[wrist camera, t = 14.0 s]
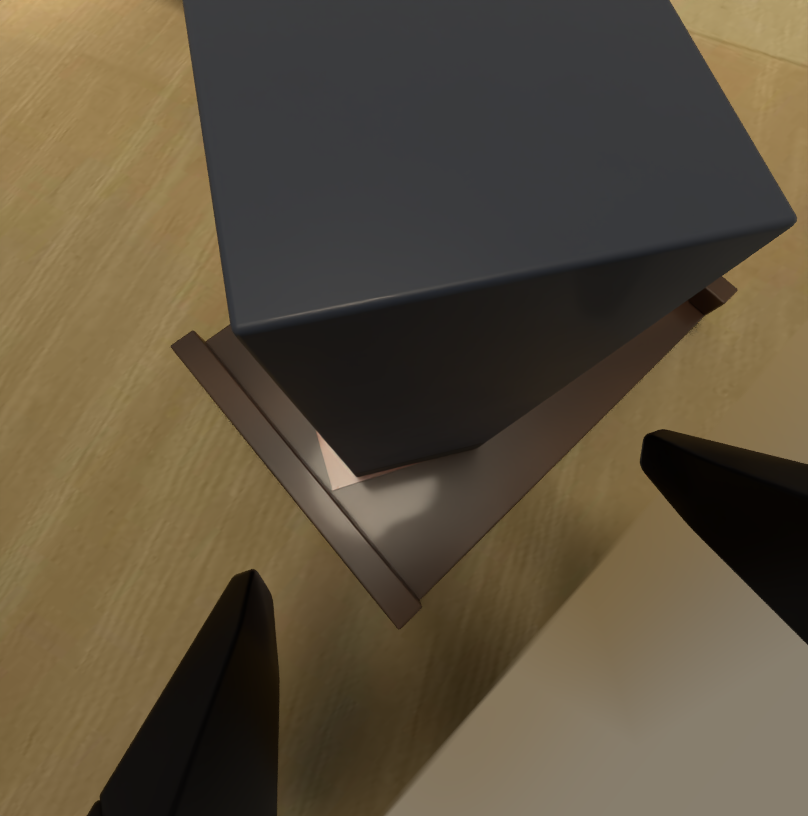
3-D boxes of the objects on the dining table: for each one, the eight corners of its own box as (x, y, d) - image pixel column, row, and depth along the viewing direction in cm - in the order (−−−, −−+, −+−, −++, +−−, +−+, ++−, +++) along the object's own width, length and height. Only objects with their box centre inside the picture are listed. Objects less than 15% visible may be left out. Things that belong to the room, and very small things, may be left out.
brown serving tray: (696, 316, 21) (739, 289, 19) (397, 613, 17) (398, 631, 14) (494, 140, 24) (507, 95, 21) (189, 357, 20) (158, 333, 17)
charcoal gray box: (479, 447, 17) (805, 220, 4) (355, 477, 17) (228, 333, 3) (422, 258, 20) (501, -292, 6) (313, 278, 19) (140, -277, 6)
